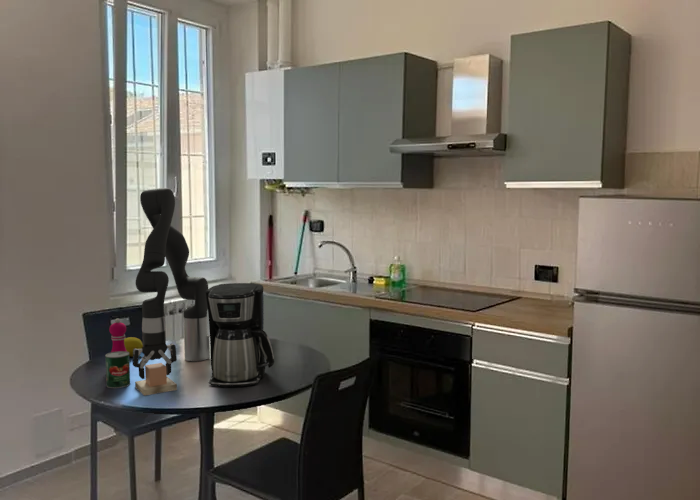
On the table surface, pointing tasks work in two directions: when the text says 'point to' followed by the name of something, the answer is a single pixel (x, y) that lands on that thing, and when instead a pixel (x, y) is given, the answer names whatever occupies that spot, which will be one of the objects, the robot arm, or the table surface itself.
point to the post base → (155, 387)
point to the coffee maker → (237, 334)
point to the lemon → (132, 344)
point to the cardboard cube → (155, 374)
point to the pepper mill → (118, 336)
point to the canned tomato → (117, 369)
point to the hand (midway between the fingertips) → (155, 376)
